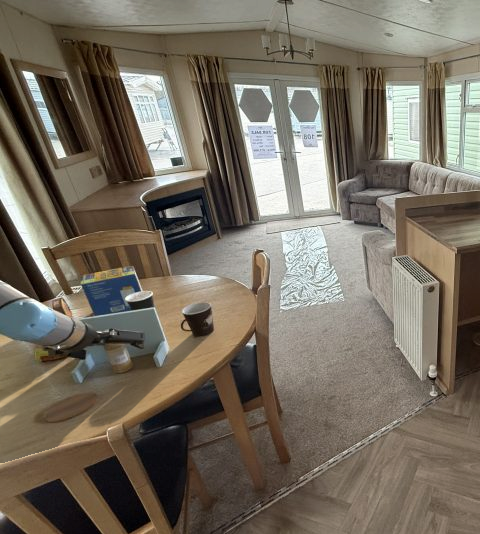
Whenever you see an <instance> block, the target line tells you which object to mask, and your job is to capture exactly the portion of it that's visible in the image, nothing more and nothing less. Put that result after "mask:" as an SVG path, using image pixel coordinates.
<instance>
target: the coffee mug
mask: <svg viewBox="0 0 480 534" xmlns="http://www.w3.org/2000/svg"><path fill="white" fill-rule="evenodd" d="M181 313H182V316H183V317H184V319H183V320H182V321H181V322H180V329H181V330H182V331H184V332H191V333H192V335H193V336H194V337H196V338H201V337H202V338H203V337H206V336H208V335H211V334H212V333H213V332H214V331H215V325H214V318H213V317H214V316H213V310H212V304H211V303H210V302H208V301H199V302H193V303H191V304H188V305H186V306H185V307H184V308H182V309H181ZM185 323H187V325H188V327H189V329H186V328H184V324H185Z"/></svg>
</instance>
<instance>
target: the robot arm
mask: <svg viewBox="0 0 480 534" xmlns="http://www.w3.org/2000/svg"><path fill="white" fill-rule="evenodd" d="M78 319H79V318H75V317H74V316H73V317H70V316H67V315H64V314H62V313H59V312H57V311H55V310H53V308H51V307H49V306H47V305H45V304H44V303H41V302H40V301H38V300H36V299H34V298H32V297H29V296H28V295H26V294H25V293H23V292H21V291H19V290H18V289H16V288H14V287H12V286H11V285H10V284H8V283H7V282H4V281H2V280H0V335H1V336H5V337H7V338H9V339H11V340H14V341H19V342H25V343H29V344H34V345H36V346H37V345H41V346H44V350H47V351H48V356H49V358H54V357H56V356H57V355H60V357H62V358H65V357H67V358H72V359H76V360H80V361H81V360H85V359H86V350H84V348H86V347H91V346H104V345H107V344H130V345H131V346H134V347H137V348H139V349H144V340H145V333H144V332H135V331H125V330H118V329H114V328H111V329H109V332H98V331H95V329H94V328H93V327H92V326H91V325H89V324H87V323H85V322H82V321H80V320H78ZM102 339H103V342H100V341H101V340H102ZM64 356H65V357H64Z"/></svg>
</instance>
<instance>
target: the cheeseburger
mask: <svg viewBox="0 0 480 534" xmlns="http://www.w3.org/2000/svg"><path fill="white" fill-rule="evenodd" d="M62 358H66V356H64V357H60V355H57V356H56V357H54V358H49V356H48V351H47V350H44V346H41V345H37V344H36V345H35V348H34V359H35V361H36V362H39V363H42V362H46V361H53V360H58V359H62Z"/></svg>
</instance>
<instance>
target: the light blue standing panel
mask: <svg viewBox="0 0 480 534" xmlns="http://www.w3.org/2000/svg"><path fill="white" fill-rule="evenodd" d="M77 319H78V320H80V321H82V322H85V323H87V324H89V325H91V326H92V327H93V328H94V329H95V331H98V332H103V331H106V330H109V329H111V328H114V329H118V330H125V331H135V332H144V333H145V340H144V349H139V348H137V347H134V346H131V345H130V344H124V345H125V348H126V349H127V352H128V354H129V356H130V359H131V358H136V357H140V356H147V355H152V354H154V355H153V360H154V363H155V365H156V368H161V367H162V366H163V363H164V361H165V360H166V356H167V355H168V353H169V350H170V346H169V343H168V341H167V337H166V335H165V332H164V329H163V326H162V323H161V320H160V318H159V314H158V311H157V309H156V308H155V306H154V308H147V309H140V310H134V311H127V312H120V313H114V314H107V315H100V316H94V315H93V316H89V317H88V316H87V317H81V318H77ZM100 342H101V341H100ZM84 350H86V359H85V360H80V361H79V363H78V364H77V365H76V366H75V368H74V369H73V370H72V371H71V373H70V374H71V377H72V378H73V380H74V382H75V384H76V385H80V384H82V382H83V381H84V379H86V377H87V376H88V374H89V373H90V372H91V370H92V369H93V368H94V367H95V365H99V364H105V363H110V361H109V358H108V356H107V354H106V352H105V349H104V346H91V347H86V348H84Z"/></svg>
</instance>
